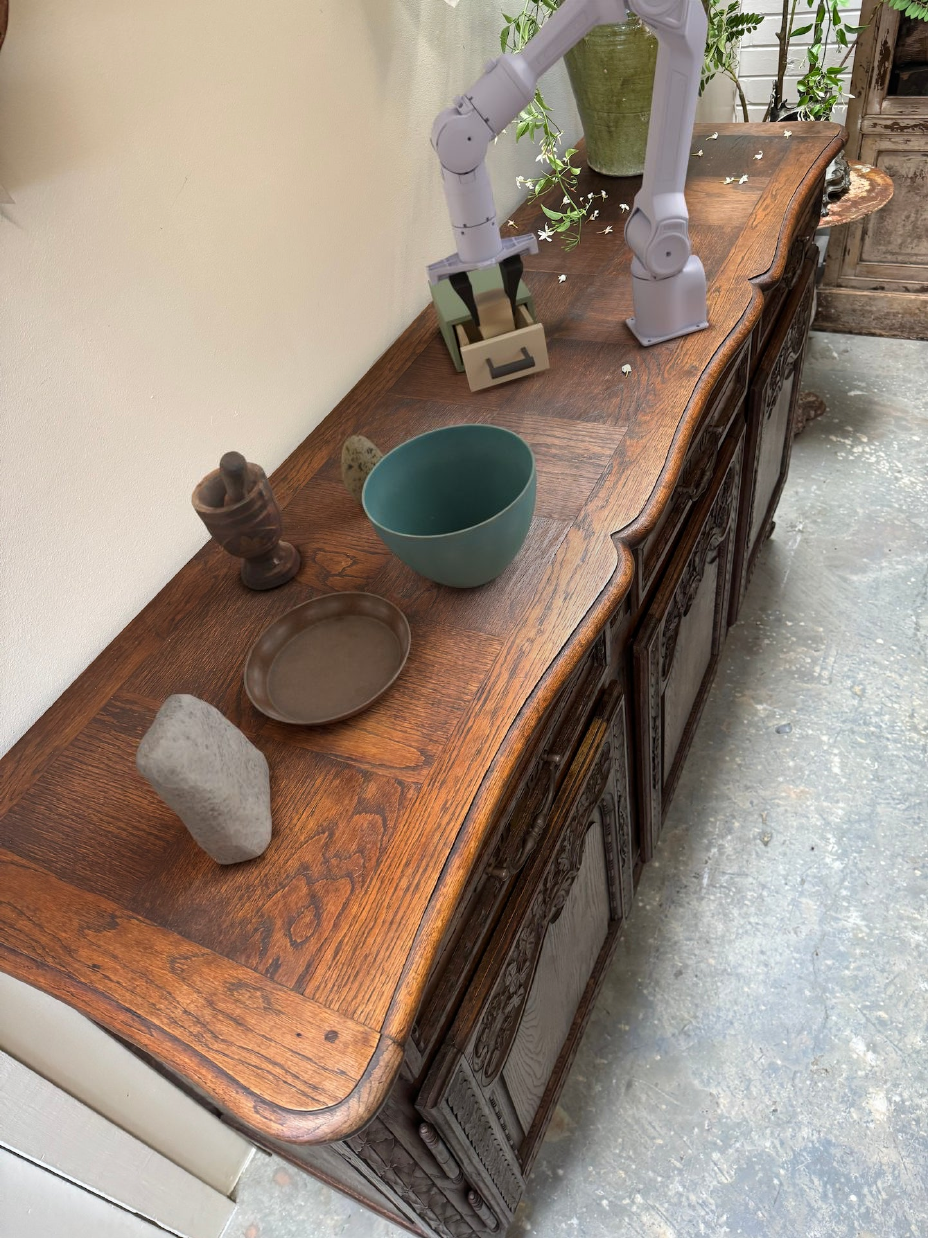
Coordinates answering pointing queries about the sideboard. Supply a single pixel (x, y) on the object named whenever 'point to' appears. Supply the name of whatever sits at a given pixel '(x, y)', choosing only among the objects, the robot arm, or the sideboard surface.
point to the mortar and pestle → (246, 521)
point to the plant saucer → (327, 658)
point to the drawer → (502, 351)
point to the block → (494, 312)
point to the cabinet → (456, 311)
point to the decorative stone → (209, 778)
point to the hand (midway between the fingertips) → (494, 318)
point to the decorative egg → (358, 464)
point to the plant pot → (454, 502)
